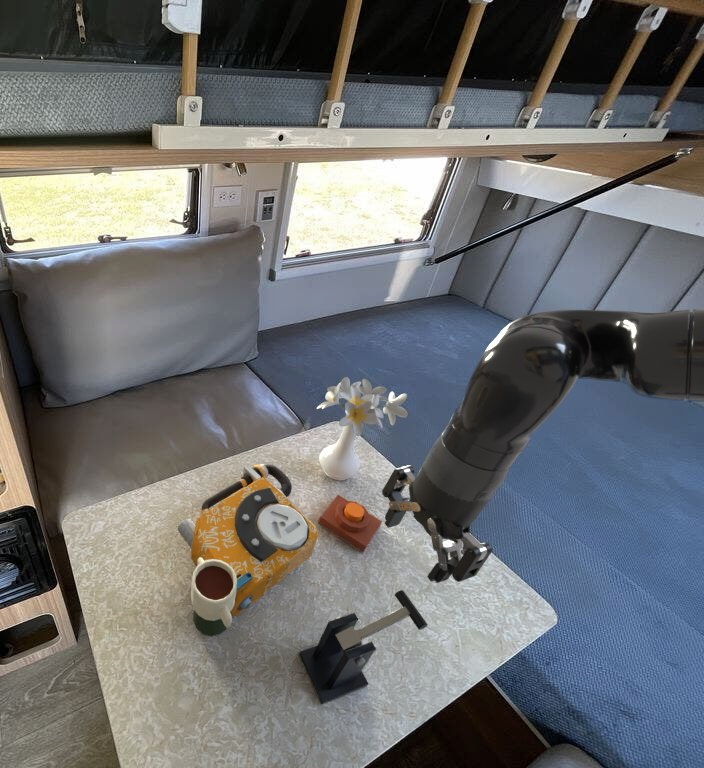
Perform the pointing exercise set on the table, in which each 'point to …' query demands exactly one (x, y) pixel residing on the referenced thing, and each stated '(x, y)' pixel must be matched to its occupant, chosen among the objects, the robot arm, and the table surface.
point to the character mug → (213, 596)
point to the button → (354, 512)
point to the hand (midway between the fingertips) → (411, 549)
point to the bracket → (336, 662)
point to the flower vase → (355, 423)
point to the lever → (381, 624)
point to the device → (252, 533)
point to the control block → (349, 524)
